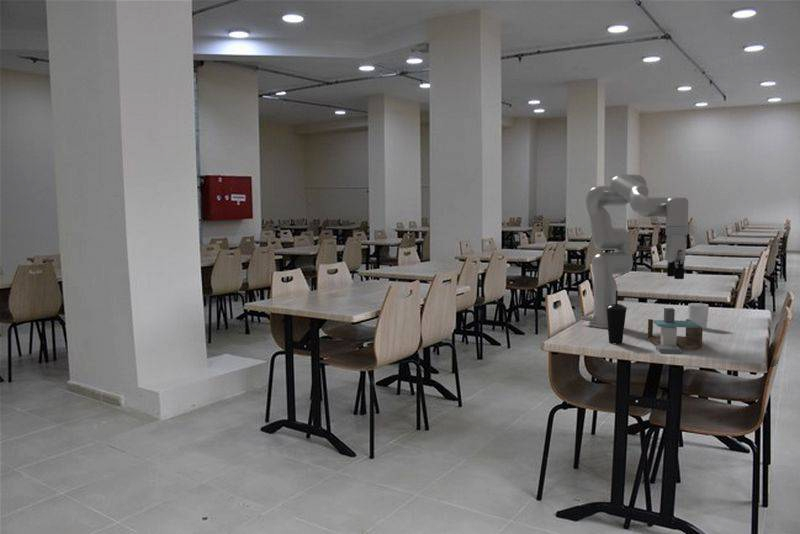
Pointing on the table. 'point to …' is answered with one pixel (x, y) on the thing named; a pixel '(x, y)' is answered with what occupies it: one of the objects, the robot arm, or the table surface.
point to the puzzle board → (688, 342)
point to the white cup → (698, 313)
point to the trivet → (668, 349)
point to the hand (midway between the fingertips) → (675, 277)
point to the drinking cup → (616, 321)
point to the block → (668, 335)
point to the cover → (670, 322)
